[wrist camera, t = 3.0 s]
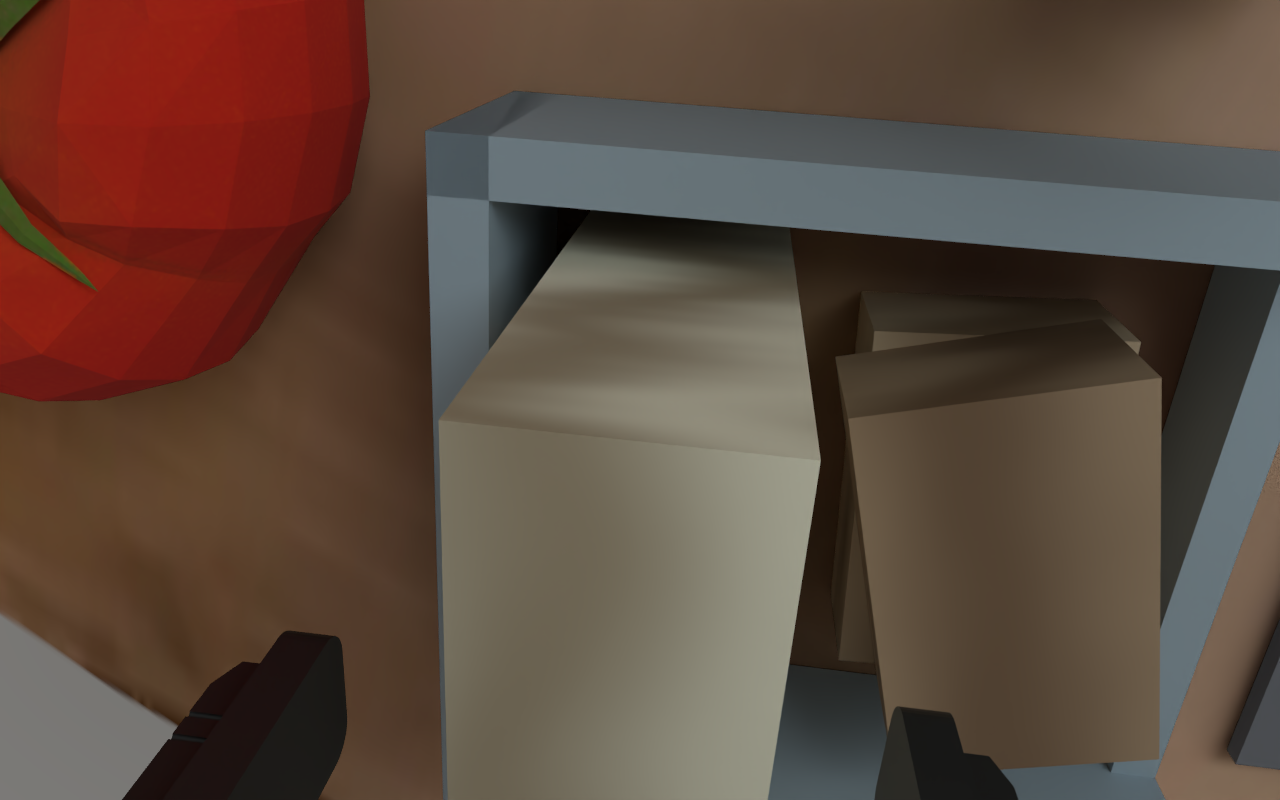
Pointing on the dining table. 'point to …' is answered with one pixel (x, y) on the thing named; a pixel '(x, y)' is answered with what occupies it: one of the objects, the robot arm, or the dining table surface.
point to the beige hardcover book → (630, 520)
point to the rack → (913, 208)
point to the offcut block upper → (1013, 538)
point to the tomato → (163, 179)
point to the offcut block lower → (917, 323)
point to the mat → (1261, 716)
